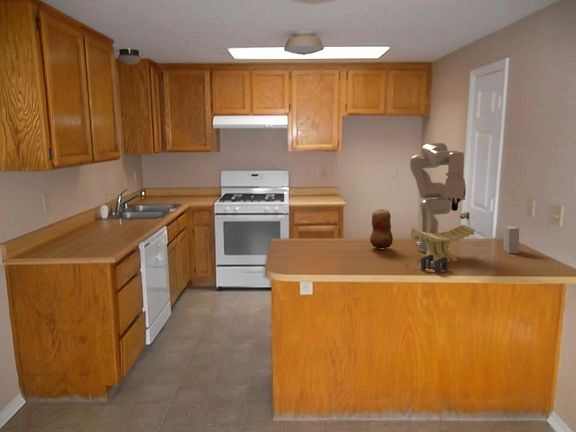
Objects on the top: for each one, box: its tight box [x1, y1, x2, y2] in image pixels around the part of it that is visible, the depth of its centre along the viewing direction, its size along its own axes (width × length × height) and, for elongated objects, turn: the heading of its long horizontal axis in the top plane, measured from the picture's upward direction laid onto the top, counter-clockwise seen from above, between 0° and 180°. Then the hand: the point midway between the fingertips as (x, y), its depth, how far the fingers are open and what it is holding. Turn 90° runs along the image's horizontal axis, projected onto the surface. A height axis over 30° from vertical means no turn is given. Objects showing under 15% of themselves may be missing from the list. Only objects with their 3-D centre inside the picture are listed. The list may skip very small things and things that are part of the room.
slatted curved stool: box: [410, 224, 475, 262], centre depth 258 cm, size 30×16×18 cm, turn 94°
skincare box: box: [503, 225, 520, 254], centre depth 266 cm, size 8×6×15 cm
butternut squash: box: [369, 208, 394, 249], centre depth 282 cm, size 14×13×25 cm
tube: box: [426, 259, 444, 271], centre depth 239 cm, size 10×4×4 cm, turn 43°
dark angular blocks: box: [434, 257, 448, 275], centre depth 235 cm, size 2×9×8 cm, turn 133°
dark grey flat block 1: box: [420, 254, 434, 271], centre depth 241 cm, size 2×9×6 cm, turn 133°
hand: (454, 210), depth 241 cm, fingers closed
